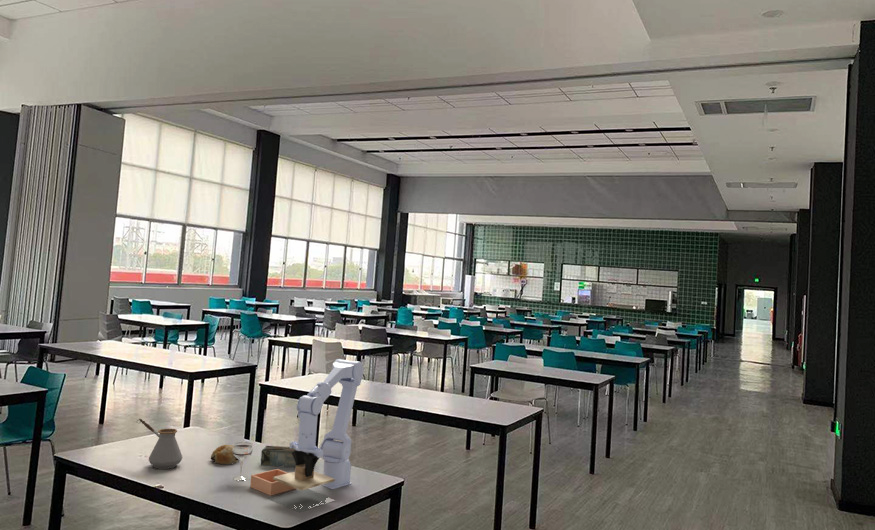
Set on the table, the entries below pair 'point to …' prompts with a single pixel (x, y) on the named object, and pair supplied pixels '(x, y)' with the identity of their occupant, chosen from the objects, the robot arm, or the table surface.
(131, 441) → the table surface
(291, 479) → the lid
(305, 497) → the mat
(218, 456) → the bread roll
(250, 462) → the table surface
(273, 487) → the orange open box
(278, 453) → the beverage carton
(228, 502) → the table surface
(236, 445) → the wineglass
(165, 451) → the coffee pot
